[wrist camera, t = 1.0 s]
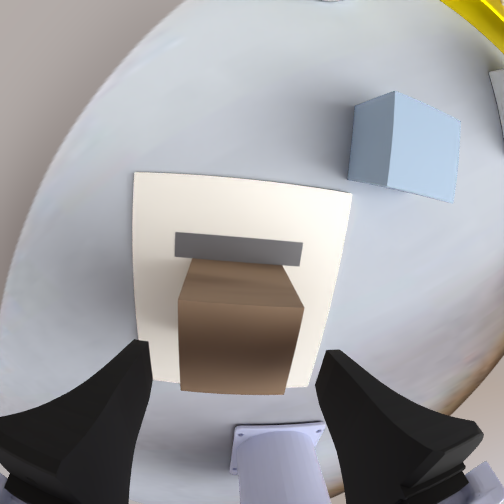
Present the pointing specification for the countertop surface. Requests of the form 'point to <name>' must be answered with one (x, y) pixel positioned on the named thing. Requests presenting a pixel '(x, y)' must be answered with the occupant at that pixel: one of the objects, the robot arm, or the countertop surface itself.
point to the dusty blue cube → (405, 146)
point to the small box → (499, 91)
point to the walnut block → (237, 328)
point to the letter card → (232, 250)
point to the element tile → (483, 17)
